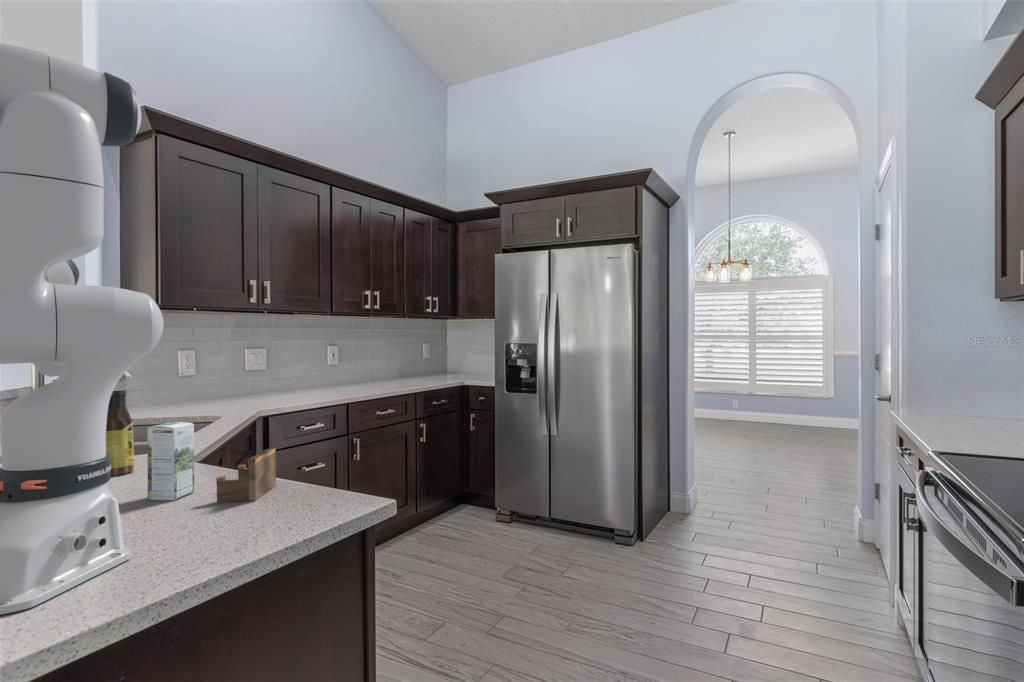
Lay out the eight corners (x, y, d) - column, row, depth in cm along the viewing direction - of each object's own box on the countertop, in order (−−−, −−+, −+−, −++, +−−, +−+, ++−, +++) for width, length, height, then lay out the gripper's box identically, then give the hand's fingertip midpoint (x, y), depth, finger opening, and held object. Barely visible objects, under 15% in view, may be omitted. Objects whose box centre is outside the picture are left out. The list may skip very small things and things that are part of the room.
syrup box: (168, 492, 109) (167, 421, 109) (195, 492, 108) (194, 421, 108) (147, 500, 103) (145, 426, 103) (175, 501, 103) (174, 426, 103)
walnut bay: (256, 500, 102) (255, 459, 102) (216, 502, 101) (215, 460, 101) (276, 485, 113) (275, 448, 113) (240, 487, 112) (239, 449, 112)
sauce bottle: (136, 473, 126) (134, 389, 126) (103, 478, 121) (101, 391, 121) (131, 468, 130) (130, 388, 130) (99, 473, 126) (98, 390, 126)
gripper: (25, 322, 94) (83, 378, 95) (108, 321, 114) (154, 367, 115) (-1, 346, 94) (57, 402, 95) (86, 341, 114) (133, 387, 115)
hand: (111, 383), depth 105 cm, fingers open, 8 cm apart
